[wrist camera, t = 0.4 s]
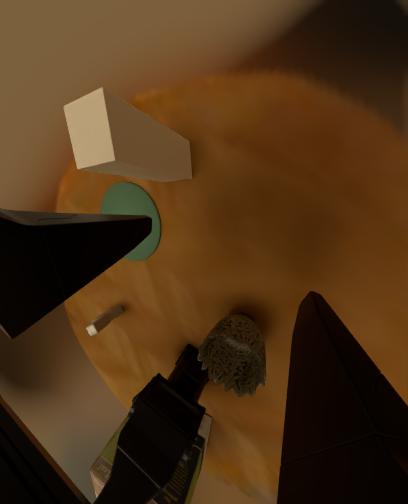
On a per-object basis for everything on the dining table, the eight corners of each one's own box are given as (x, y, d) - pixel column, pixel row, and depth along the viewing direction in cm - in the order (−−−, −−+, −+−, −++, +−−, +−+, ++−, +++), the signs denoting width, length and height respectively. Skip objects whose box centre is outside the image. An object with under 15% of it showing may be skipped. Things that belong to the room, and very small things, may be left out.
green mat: (148, 273, 31) (146, 274, 31) (97, 236, 34) (95, 236, 34) (171, 205, 26) (170, 205, 25) (109, 168, 28) (107, 168, 28)
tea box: (151, 409, 43) (93, 500, 30) (151, 379, 39) (86, 468, 26) (208, 447, 37) (167, 579, 24) (214, 417, 34) (170, 551, 21)
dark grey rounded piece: (235, 288, 25) (216, 323, 18) (282, 322, 23) (281, 374, 16) (212, 321, 28) (187, 362, 21) (252, 352, 26) (240, 407, 19)
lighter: (113, 316, 39) (75, 341, 32) (109, 309, 39) (70, 333, 32) (132, 308, 36) (94, 335, 29) (127, 301, 35) (89, 326, 28)
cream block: (192, 178, 23) (115, 160, 13) (165, 182, 25) (77, 169, 14) (189, 141, 22) (102, 87, 12) (161, 147, 24) (63, 106, 13)
